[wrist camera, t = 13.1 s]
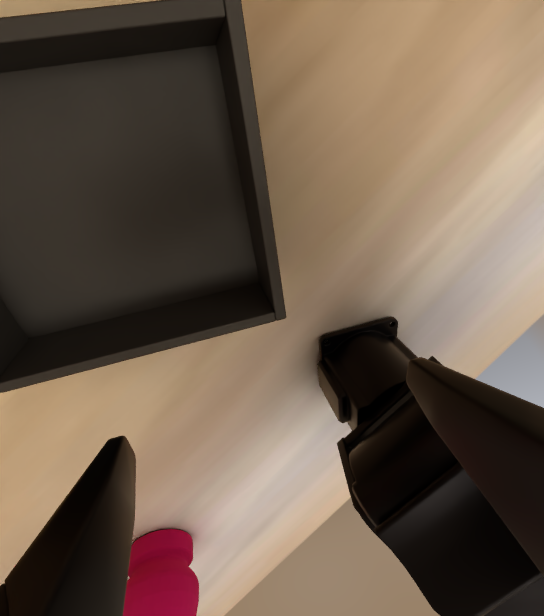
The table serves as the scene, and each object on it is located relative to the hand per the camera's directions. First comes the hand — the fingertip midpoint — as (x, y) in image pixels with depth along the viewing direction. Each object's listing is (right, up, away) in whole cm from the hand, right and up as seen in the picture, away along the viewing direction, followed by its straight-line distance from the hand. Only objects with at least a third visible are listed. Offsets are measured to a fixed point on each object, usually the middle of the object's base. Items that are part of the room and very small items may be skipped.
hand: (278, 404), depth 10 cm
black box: (-9, +8, +7) cm, 14 cm away
